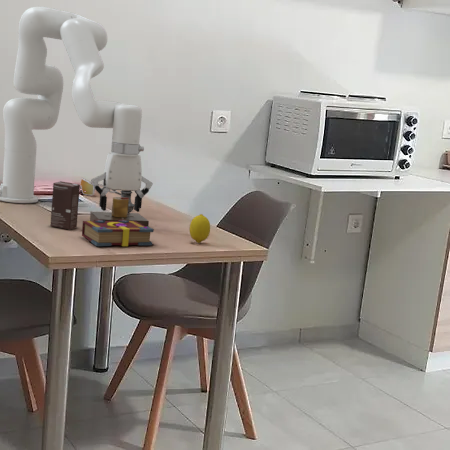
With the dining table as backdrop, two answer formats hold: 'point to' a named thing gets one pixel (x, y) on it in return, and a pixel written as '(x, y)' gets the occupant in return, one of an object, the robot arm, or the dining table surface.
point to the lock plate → (108, 217)
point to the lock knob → (120, 207)
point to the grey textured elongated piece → (128, 195)
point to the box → (65, 205)
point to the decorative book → (116, 233)
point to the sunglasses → (91, 188)
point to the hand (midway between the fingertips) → (120, 210)
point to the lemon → (199, 228)
